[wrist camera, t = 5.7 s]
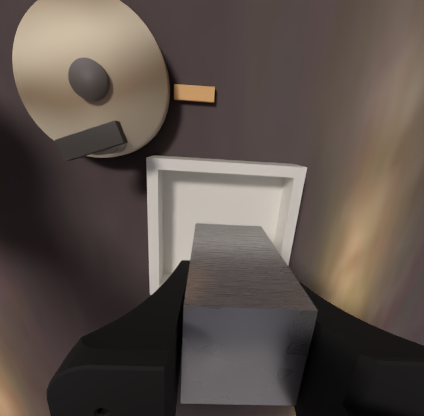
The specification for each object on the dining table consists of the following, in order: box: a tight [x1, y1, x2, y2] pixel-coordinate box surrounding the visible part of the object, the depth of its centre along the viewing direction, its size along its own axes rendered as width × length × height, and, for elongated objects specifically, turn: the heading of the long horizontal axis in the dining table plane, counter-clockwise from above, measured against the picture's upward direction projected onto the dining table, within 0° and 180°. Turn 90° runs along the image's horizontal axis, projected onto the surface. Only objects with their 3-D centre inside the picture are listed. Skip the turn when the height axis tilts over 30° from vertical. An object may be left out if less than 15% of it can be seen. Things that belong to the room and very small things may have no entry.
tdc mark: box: [174, 84, 215, 103], centre depth 16 cm, size 3×1×1 cm, turn 87°
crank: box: [12, 0, 170, 161], centre depth 13 cm, size 10×10×5 cm
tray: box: [146, 155, 307, 295], centre depth 18 cm, size 12×12×2 cm
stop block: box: [181, 223, 318, 406], centre depth 10 cm, size 4×4×7 cm
